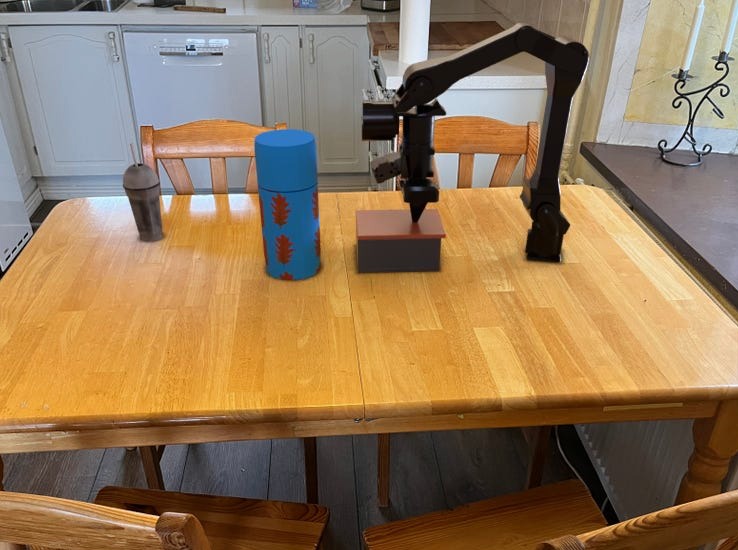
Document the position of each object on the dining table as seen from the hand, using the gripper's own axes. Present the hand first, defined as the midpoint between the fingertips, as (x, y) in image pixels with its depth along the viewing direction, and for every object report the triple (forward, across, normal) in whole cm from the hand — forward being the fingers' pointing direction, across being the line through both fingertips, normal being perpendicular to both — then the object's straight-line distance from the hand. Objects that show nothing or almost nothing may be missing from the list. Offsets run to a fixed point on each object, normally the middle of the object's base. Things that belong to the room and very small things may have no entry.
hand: (414, 221), depth 133 cm
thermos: (+8, +4, -24) cm, 25 cm away
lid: (+1, 0, -3) cm, 3 cm away
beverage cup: (+8, -13, -54) cm, 56 cm away
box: (+8, 0, -3) cm, 8 cm away
